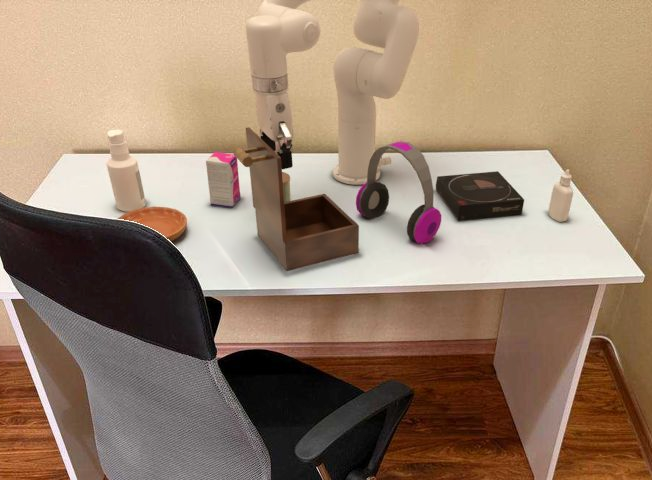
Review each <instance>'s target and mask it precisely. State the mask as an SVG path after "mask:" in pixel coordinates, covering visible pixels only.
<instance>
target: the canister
mask: <svg viewBox="0 0 652 480" xmlns="http://www.w3.org/2000/svg"><path fill="white" fill-rule="evenodd" d="M282 180H283V195H284V202H288V201H292V196H291V195H292V194H291V193H292V192H291V175H290V174H289V173H287V172H284V171H282Z"/></svg>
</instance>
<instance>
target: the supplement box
mask: <svg viewBox="0 0 652 480" xmlns="http://www.w3.org/2000/svg"><path fill="white" fill-rule="evenodd" d="M205 166H206V173H207V174H206V175H207V184H208V193H209V201H210V206H212V207H219V208H227V209H233V208H234V207H235V205H236V204H237V203H238V201H239V200H240V199H241V189H240V187H241V186H240V177H239V165H238V159H237V158H236V156H235V155H234V154H233V153H226V152H220V151H215V152H213V153H212V154H211V155H210V156H209V157H208V158H207V159H206V160H205Z"/></svg>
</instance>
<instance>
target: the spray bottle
mask: <svg viewBox="0 0 652 480" xmlns="http://www.w3.org/2000/svg"><path fill="white" fill-rule="evenodd" d="M107 138H108V142H107V143H108V147H109V154H110V157H111V158H108V160H107V161H106V168H107V172H108V177H109V179H110V180H109V181H110V184H111V189H112V193H113V197H114V201H115V205H116V209H118V210H120V211H122V212H130V211H133V210H137V209H141V208H145V206H146V204H147V202H146V197H145V192H144V186H143V182H142V178H141V173H140V168H139V164H138V159H137V158H136V157H134V156H133V155H130V151H129V148H128V143H127V140H126V138H125V134H124V131H123V129H111V130H108V131H107Z"/></svg>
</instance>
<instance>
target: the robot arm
mask: <svg viewBox="0 0 652 480" xmlns="http://www.w3.org/2000/svg"><path fill="white" fill-rule="evenodd" d="M309 1H311V0H262V2H261V4H260V5H259V7H258V10H257V12H256V15H255V16H252V17H250V18H249V19H247V21H246V24H245V29H246V30H245V33H246V42H247V50H248V51H247V52H248V59H249V60H248V61H249V69H250V79H251V87H252V92H253V93H255V108H256V117H257V124H258V127H259V135H260V138H261V139H262V140H263V141H264V142H265V143H266V144H267V145H268V146H269V147H270V148H271V149H272V150H273V151H274V152H276V150H277V152H276V153H277V154H278V155H279V156H280V157H281V164H282V170H286V169H291V168H293V164H294V163H293V153H292V152H293V138H294V137H295V132H294V123H293V114H292V107H291V102H290V101H291V100H290V97H289V93H288V91H289V89H290V88H289V77H288V63H287V54H290V53H291V54H292V53H301V52H306V51H308V50H311V49H312V48H313V47H315V46H316V45H317V43H318V42H319V40H320V36H321V25H320V23H319V20H318V19H317V17H316V16H314V15H313V14H312V13H310V12H308V11H304V10H301V9H298V7H300V6H301V5H303V4H306V3H308V2H309ZM399 2H400V0H360V2H359V5H358V9H357V11H356V14H355V18H354V22H353V34H354V37H355V38H356V40H357V41H359V42H361V43H363V44H365V45H368V46H372V47H376V48H380V49H384V51H383V53H382V52H377V51H374V50H371V49H367V48H363V47H358V46H357V47H356V46H349V47H345V48H343V49H341V50H340V51H339V52H338V53H337V55H336V56H335V58H334V61H333V78H334V83H335V87H336V94H337V95H336V96H337V134H338V135H337V139H338V140H337V141H338V142H337V143H338V144H337V145H338V147H337V148H338V164H337V165H335V166H334V167H333V169H332V176H333V178H334V179H335V180H336V181H338V182H340V183H344V184H347V185H353V186H354V185H357V186H358V185H361V186H362V185H364V184H365V183H366V182H367V174H368V166H369V162H370V159H371V157H372V155H373V153H374V152H375V151H376V133H377V131H376V128H377V106H376V105H377V104H376V101H375V98H379V99H384V100H389V99H392V98H394V97H395V96H397V94H398V93H399V92H400V90H401V87H402V86H403V83H404V81H405V78H406V74H407V72H408V69H409V66H410V63H411V60H412V58H413V55H414V52H415V50H416V46H417V42H418V39H419V34H420V23H419V18H418V15H417V14H416V12H415V11H414V10H413V9H412V8H409V7H408V6H404V5H399ZM281 142H283V143H281ZM391 164H392V158H391V157H390V156H385V157H383V156H382V157H381V158H380V161H379V164H378V167H377V173H376V181H377V180H379V179H380V177H381V170H380V168H381V167H382V166H387V165H391Z"/></svg>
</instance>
